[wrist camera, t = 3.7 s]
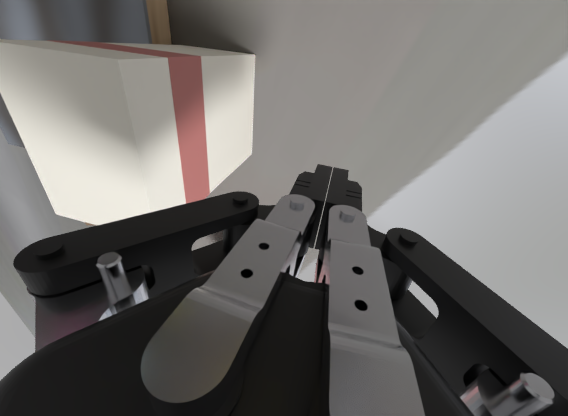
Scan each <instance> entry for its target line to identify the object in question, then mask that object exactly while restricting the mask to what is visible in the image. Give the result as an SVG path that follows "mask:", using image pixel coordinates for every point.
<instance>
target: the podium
mask: <svg viewBox="0 0 568 416" xmlns="http://www.w3.org/2000/svg"><path fill="white" fill-rule="evenodd" d="M0 39H7V40H39V41H47V40H54V41H84V42H102V43H134V44H165V45H172V42H171V33H170V24H169V16H168V7H167V0H0ZM0 128H1V130H2V132H3V134H4V136H5V138H6V140H7V142H8V144H11V145H15V146H20V147H24V148H25V146H24V143H23V141H22V139H21V137H20V135H19V132H18V130H17V128H16V126H15V124H14V122H13V119H12V117H11V115H10V113H9V111H8V109H7V106H6V104H5V102H4V100H3V98H2V96H1V93H0Z"/></svg>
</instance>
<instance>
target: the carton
mask: <svg viewBox="0 0 568 416" xmlns="http://www.w3.org/2000/svg"><path fill="white" fill-rule="evenodd" d="M254 77H255V54H247V53H239V52H232V51H224V50H216V49H209V48H201V47H193V46H186V45H165V44H134V43H102V42H84V41H54V40H47V41H39V40H7V39H0V93H1V96H2V98H3V100H4V102H5V104H6V106H7V109H8V111H9V113H10V115H11V117H12V119H13V122H14V124H15V126H16V128H17V130H18V132H19V135H20V137H21V139H22V141H23V143H24V146H25V148H26V150H27V152H28V154H29V156H30V159H31V161H32V163H33V165H34V167H35V169H36V172H37V174H38V176H39V178H40V180H41V182H42V185H43V187H44V189H45V191H46V193H47V196H48V198H49V200H50V202H51V204H52V206H53V209H54V211H55V213H56V214H57V215H61V216H64V217H68V218H72V219H75V220H79V221H83V222H86V223H90V224H94V225H102V224H106V223H110V222H114V221H118V220H122V219H126V218H130V217H134V216H138V215H142V214H146V213H150V212H154V211H158V210H162V209H166V208H170V207H174V206H178V205H183V204H187V203H191V202H195V201H199V200H203V199H205V198H206V197H207V196H208V195H209V194H210V193H211V192H212V191H213V190H214V189H215V188H216V187H217V186H218V185H219V184H220V183H221V182H222V181H223V180H225V179H226V178H227V177H228V176H229V175H230V174H231V173H232V172H233V171H234V170H235V169H236V168H237V167H239V166H240V165H241V164H242V163H243V162H244V161H245V160H246V159H247V158H248V157H249V156H250V155H251V154H252V135H253V106H254Z"/></svg>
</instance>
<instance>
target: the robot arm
mask: <svg viewBox="0 0 568 416" xmlns="http://www.w3.org/2000/svg"><path fill="white" fill-rule="evenodd" d="M331 171H332V167H330V166H325V165H320V164H318V165H317V168H316V170H315V173H310V172H306V171H305V172H303V173H301V174H299V176H298V178H297V180H296V182H295V184H294V186H293V188H292V190H291V192H290V194H289V195H285V196H283V197H282V198H281V199H280V200H279V201H278V203H277V204H276V205H272V206H266V205H259V200H258V198H257V197H256V196H255V195H253V194H251V193H248V192H231V193H227V194H223V195H219V196H215V197H211V198H207V199H203V200H199V201H195V202H191V203H187V204H183V205H178V206H174V207H170V208H166V209H162V210H158V211H154V212H150V213H146V214H142V215H138V216H134V217H130V218H126V219H122V220H118V221H114V222H110V223H106V224H102V225H97V226H93V227H89V228H85V229H81V230H77V231H73V232H69V233H65V234H61V235H57V236H53V237H49V238H45V239H42V240H40V241H37V242H35V243H33V244H31V245H29V246H27V247H26V248H24V249H23V250H22V251H20V252H19V253H18V254H17V256H16V257H15V259H14V263H13V264H14V267H15V269H16V270H17V272H18V273H19V275H20V277H21V278H22V280H23V281H24V283H25V284H26V286H27V291H28V293H29V295H30V296H31V298H32V299H33V301H34V302H35V304H36V312H35V342H36V343H35V349H36V350H35V353H33V354H32V355H30V356H29V357H27V358H26V359H25V360H23V361H22V362H21V363H20V364H19V365H17V366H16V367H15V368H14V369H12V370H11V371H10V372H9V373H8V374H7V375H6V376H5V377H4V378H3V379H2V380H1V381H0V416H568V349H567V348H566V347H565V346H563V345H562V344H561V343H559V342H558V341H557V340H555V339H554V338H553V337H551V336H550V335H549V334H548V333H546V332H545V331H544V330H542V329H541V328H540V327H539V326H537V325H536V324H535V323H533V322H532V321H531V320H529V319H528V318H527V317H526V316H524V315H523V314H522V313H520V312H519V311H518V310H517V309H515V308H514V307H513V306H511V305H510V304H509V303H507V302H506V301H505V300H504V299H502V298H501V297H500V296H498V295H497V294H496V293H494V292H493V291H492V290H491V289H489V288H488V287H487V286H485V285H484V284H483V283H481V282H480V281H479V280H478V279H476V278H475V277H474V276H472V275H471V274H470V273H468V272H467V271H466V270H465V269H463V268H462V267H461V266H459V265H458V264H457V263H456V262H454V261H453V260H452V259H450V258H449V257H447V256H446V255H445V254H444V253H443V252H441V251H440V250H439V249H437V248H436V247H435V246H433V245H432V244H431V243H429V242H428V241H427V240H426V239H424V238H423V237H422V236H420V235H419V234H417V233H415V232H413V231H411V230H407V229H403V228H392V229H390V230H389V231H388V232H387V234H383V233H381V232H379V231H376V230H374V229H373V228H371V227H370V226H368V225H367V220H366V216H365V215H364V214H363V213H362V188H361V186H360V185H359V184H358V183H357V182H354V181H349V180H348V170H345V169H340V168H335V167H334V168H333V173H332V177H331V181H330V185H329V190H328V194H327V198H326V203H325V207H324V211H323V215H322V220H321V224H320V228H319V233H318V237H317V241H316V246H315V249H319V255H318V259H317V263H316V271H315V281H314V282H305V281H302V280H300V279H298V278H297V276H298V274H299V271H300V269H301V266H302V264H303V261H304V257H305V254H306V253H307V251H308V247H310V248H313V247H314V243H315V239H316V235H317V231H318V227H319V222H320V218H321V214H322V210H323V206H324V202H325V197H326V193H327V189H328V184H329V180H330V175H331ZM222 230H223V240H222V241H219V242H216V243H213V244H210V245H208V246H205V247H202V248H199V249H196V250H193V251H192V250H191V248H192V245H193V243H194V242H195V241H196V240H197V239H199V238H201V237H204V236H207V235H210V234H213V233H216V232H219V231H222ZM412 281H414V282H415V283H416V284H417V285H418V286H419V287H420V288H421V289H422V290H423V291H424V292H425V293H427V294H428V295H429V296H430V297H431V298H432V299H433V300H434V302H435V303H436V305H437V307H438V310H439V315H438V317H437V319H436V317H435V316H434V315H433V314H432V313H431V312H430V311H429V310H428V309H427V308H426V307H425V306H424V305H423V304H422V303H421V302H420V301H419V300H418V299H417V298H416V297H415V296H414V295H413V294H412V293H411V292H410V291H409V290H408V288H409V286H410V284H411V282H412Z"/></svg>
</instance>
